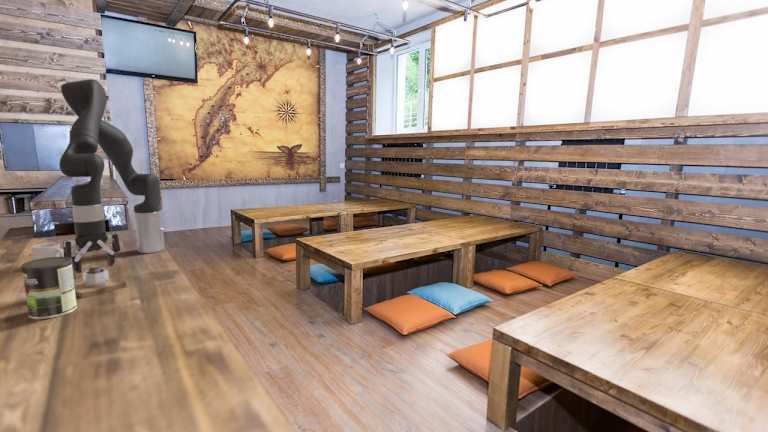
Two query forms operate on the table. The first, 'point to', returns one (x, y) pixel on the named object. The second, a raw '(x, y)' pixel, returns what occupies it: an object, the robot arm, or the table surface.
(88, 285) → the ring
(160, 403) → the table surface
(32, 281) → the coffee can
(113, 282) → the post block
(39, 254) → the cup
